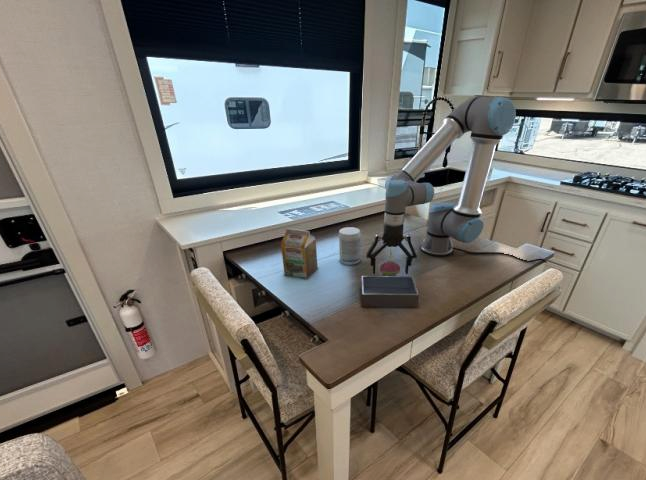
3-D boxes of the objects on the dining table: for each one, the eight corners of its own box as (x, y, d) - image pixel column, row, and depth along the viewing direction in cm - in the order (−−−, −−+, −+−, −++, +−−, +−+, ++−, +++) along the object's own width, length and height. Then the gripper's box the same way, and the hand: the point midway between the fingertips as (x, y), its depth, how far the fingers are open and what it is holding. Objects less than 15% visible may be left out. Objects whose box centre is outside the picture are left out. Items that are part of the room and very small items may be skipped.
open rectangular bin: (411, 288, 128) (413, 276, 125) (417, 307, 117) (419, 294, 114) (361, 287, 128) (361, 275, 125) (361, 306, 117) (362, 294, 114)
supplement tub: (364, 262, 147) (365, 231, 139) (346, 267, 143) (346, 236, 135) (352, 254, 154) (352, 225, 146) (335, 259, 150) (334, 229, 142)
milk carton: (317, 268, 142) (315, 227, 132) (307, 279, 134) (303, 236, 123) (296, 264, 145) (292, 224, 135) (284, 275, 137) (279, 232, 126)
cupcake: (377, 273, 138) (379, 247, 132) (397, 272, 139) (399, 247, 132) (381, 283, 131) (382, 256, 125) (401, 282, 132) (404, 256, 125)
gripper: (361, 226, 119) (360, 276, 131) (428, 227, 119) (421, 277, 131) (361, 219, 125) (360, 268, 137) (424, 220, 125) (418, 268, 137)
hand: (390, 272), depth 134 cm, fingers open, 13 cm apart
